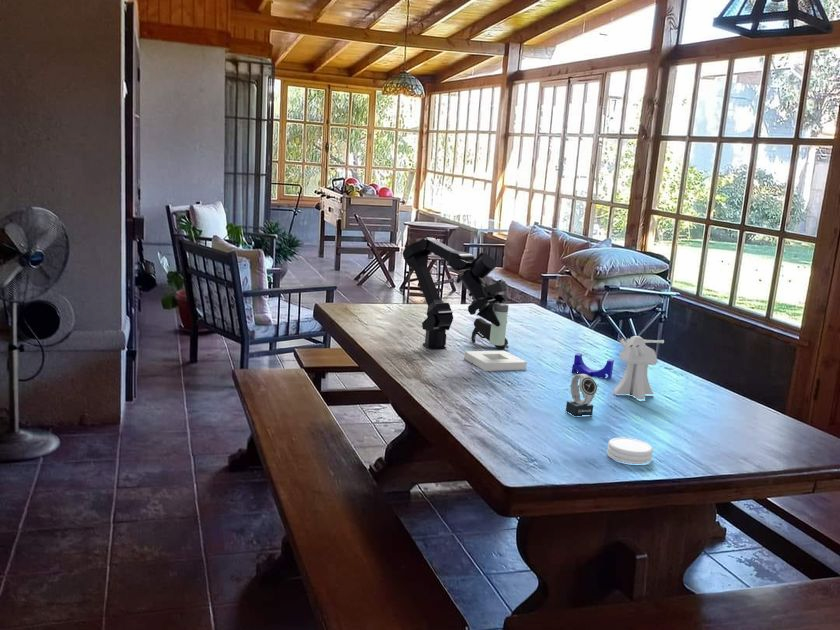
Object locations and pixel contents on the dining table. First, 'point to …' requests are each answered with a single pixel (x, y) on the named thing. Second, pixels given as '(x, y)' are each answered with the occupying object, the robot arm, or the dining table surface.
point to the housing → (495, 360)
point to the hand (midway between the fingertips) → (502, 324)
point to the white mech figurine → (636, 366)
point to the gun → (485, 332)
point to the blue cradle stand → (583, 369)
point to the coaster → (629, 450)
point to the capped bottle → (499, 332)
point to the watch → (588, 391)
